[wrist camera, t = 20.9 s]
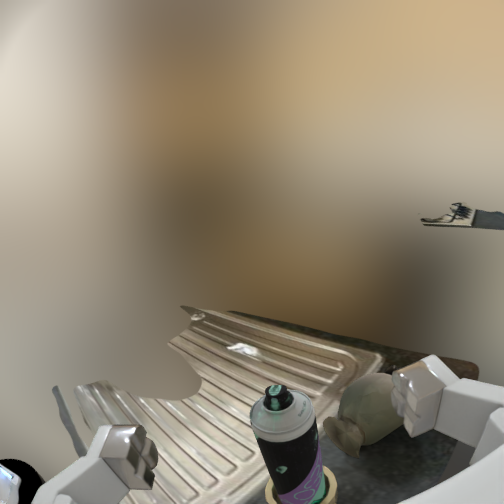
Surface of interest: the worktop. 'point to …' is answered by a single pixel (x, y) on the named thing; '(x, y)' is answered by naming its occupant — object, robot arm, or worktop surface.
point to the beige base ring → (330, 485)
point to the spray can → (290, 444)
